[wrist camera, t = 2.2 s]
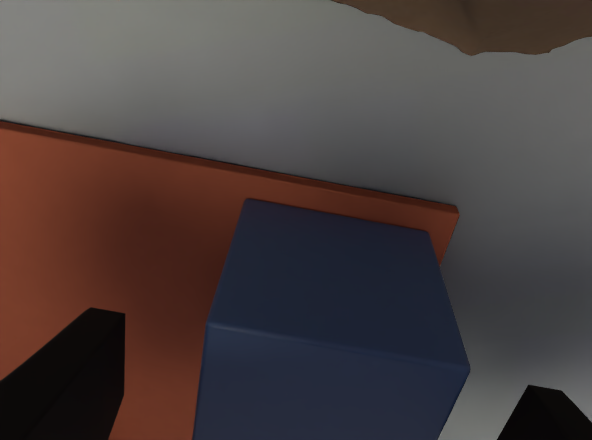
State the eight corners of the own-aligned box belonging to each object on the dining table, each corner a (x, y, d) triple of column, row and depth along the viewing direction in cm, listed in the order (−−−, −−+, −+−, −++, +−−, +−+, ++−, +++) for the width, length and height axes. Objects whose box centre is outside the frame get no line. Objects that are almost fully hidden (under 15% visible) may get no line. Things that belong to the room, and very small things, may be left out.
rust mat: (325, 552, 18) (325, 564, 18) (8, 501, 18) (2, 512, 18) (456, 205, 11) (460, 214, 11) (-58, 109, 11) (-71, 115, 11)
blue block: (382, 364, 13) (399, 522, 10) (224, 336, 13) (185, 487, 10) (430, 230, 11) (474, 369, 8) (244, 196, 11) (205, 322, 8)
